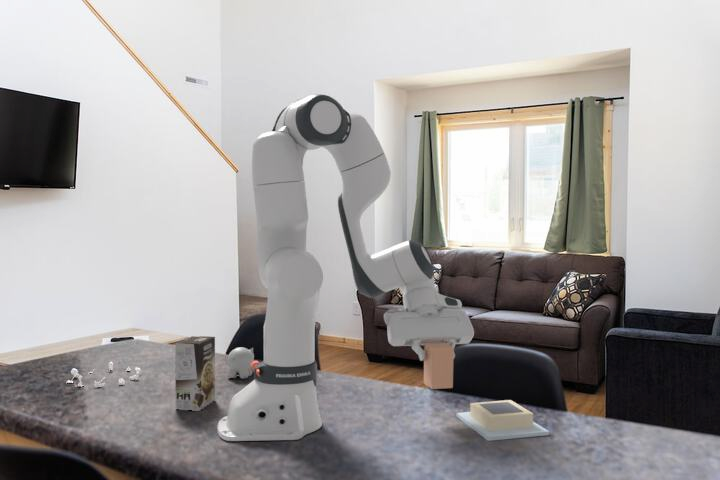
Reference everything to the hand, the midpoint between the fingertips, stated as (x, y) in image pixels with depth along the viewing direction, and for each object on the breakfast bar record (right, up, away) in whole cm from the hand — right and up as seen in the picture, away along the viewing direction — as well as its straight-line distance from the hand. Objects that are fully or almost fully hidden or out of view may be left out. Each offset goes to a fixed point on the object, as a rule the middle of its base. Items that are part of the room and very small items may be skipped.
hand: (438, 358), depth 138 cm
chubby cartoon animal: (-51, -13, +40) cm, 66 cm away
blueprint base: (+13, -14, -3) cm, 20 cm away
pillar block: (0, -6, 0) cm, 6 cm away
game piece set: (-89, -13, +36) cm, 97 cm away
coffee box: (-57, -14, +12) cm, 60 cm away
